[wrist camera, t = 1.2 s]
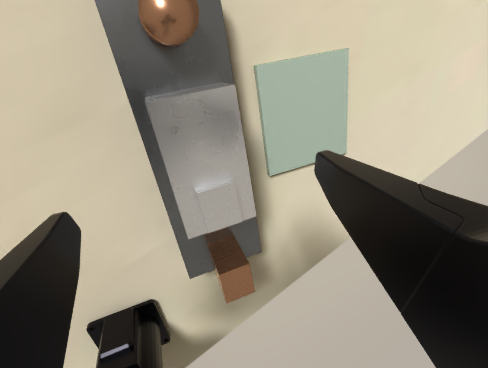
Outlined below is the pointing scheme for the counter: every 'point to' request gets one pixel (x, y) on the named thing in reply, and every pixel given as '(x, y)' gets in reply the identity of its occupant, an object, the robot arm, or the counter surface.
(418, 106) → the counter surface
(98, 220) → the counter surface
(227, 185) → the lever cap
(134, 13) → the hand plane
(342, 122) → the mat
